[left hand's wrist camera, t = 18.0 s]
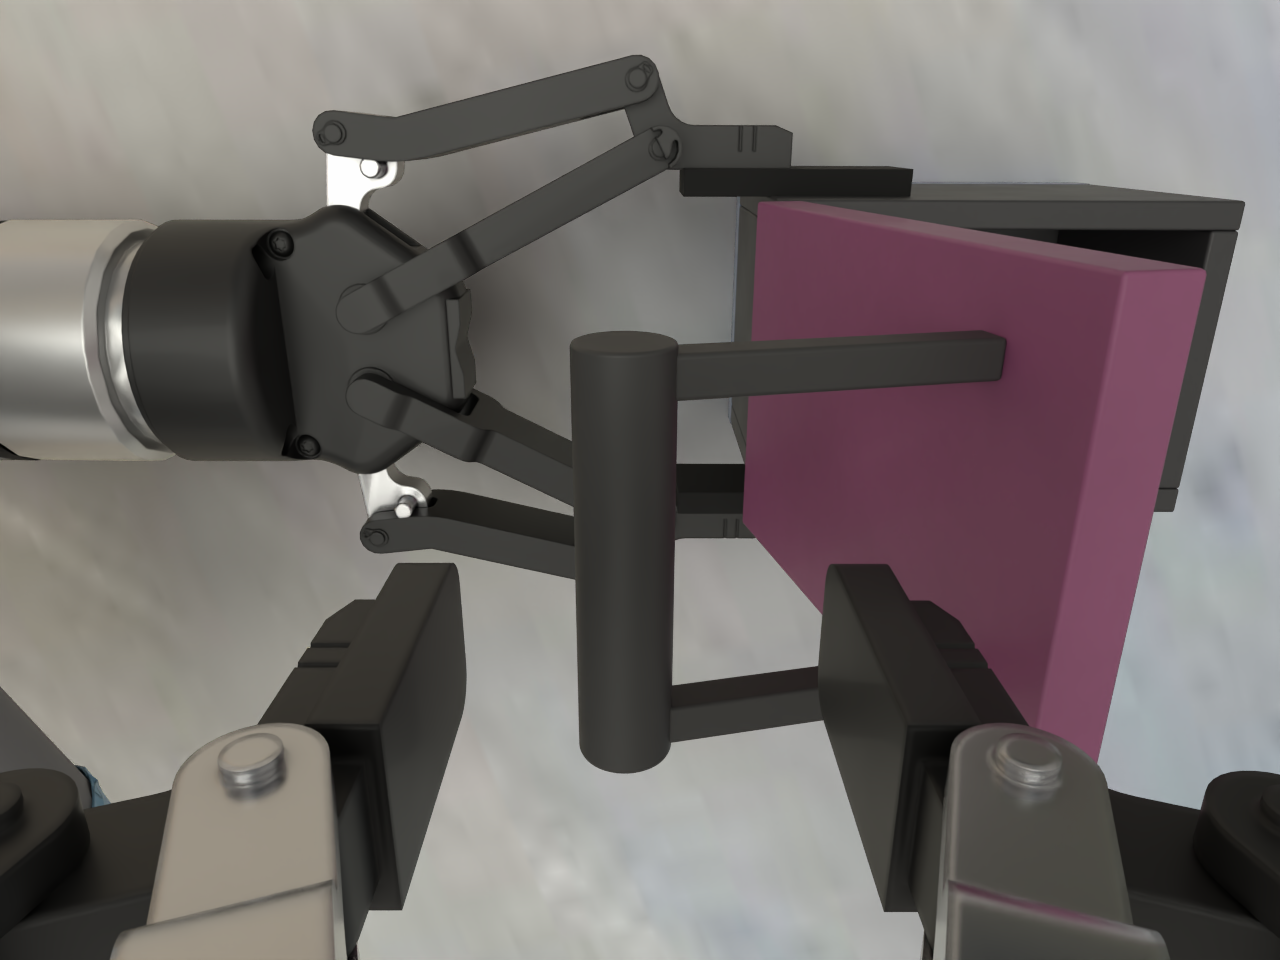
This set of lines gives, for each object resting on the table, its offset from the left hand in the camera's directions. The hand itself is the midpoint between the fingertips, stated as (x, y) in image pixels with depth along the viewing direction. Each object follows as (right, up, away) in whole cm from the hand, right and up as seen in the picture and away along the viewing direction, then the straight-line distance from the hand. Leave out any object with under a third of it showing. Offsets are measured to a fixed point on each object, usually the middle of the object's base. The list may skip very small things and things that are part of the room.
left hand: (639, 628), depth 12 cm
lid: (+6, +3, +7) cm, 10 cm away
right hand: (+8, +6, +17) cm, 20 cm away
